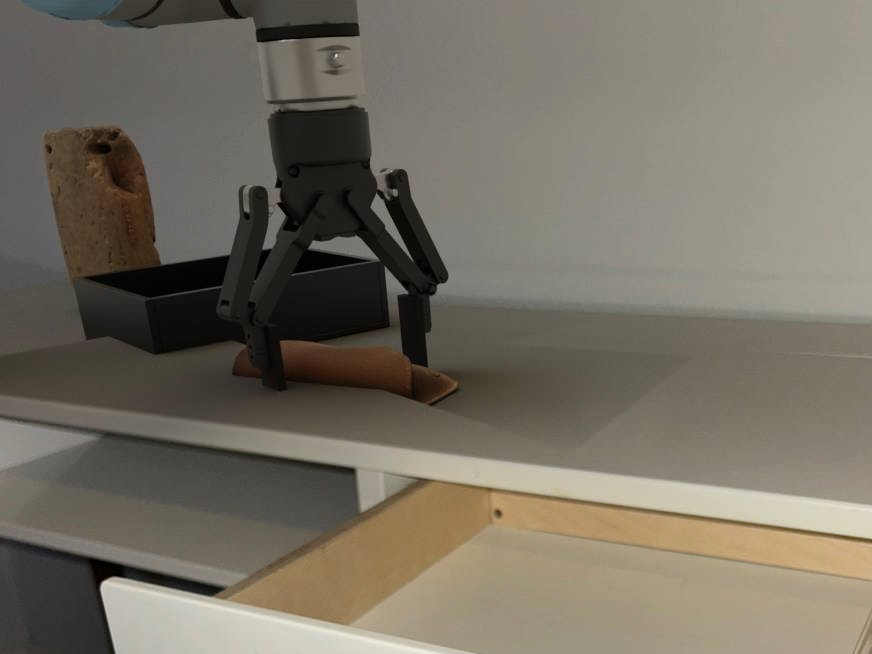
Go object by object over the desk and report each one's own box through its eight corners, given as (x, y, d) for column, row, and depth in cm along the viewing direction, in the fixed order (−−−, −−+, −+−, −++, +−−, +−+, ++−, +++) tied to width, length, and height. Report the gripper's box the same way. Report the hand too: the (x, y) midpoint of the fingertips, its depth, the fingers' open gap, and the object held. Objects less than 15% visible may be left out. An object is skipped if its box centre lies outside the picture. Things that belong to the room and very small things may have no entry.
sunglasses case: (466, 379, 89) (441, 317, 83) (434, 442, 86) (405, 382, 80) (291, 365, 96) (258, 308, 91) (255, 423, 94) (219, 367, 88)
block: (70, 314, 128) (28, 129, 118) (118, 302, 133) (81, 124, 124) (134, 319, 123) (95, 126, 113) (181, 306, 128) (147, 122, 119)
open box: (158, 373, 99) (144, 300, 96) (86, 342, 113) (71, 277, 110) (390, 326, 112) (384, 260, 109) (299, 303, 126) (291, 244, 123)
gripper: (180, 118, 70) (233, 431, 80) (480, 94, 83) (494, 367, 93) (137, 119, 76) (192, 412, 86) (425, 96, 89) (444, 354, 99)
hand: (349, 389), depth 89 cm, fingers open, 13 cm apart
